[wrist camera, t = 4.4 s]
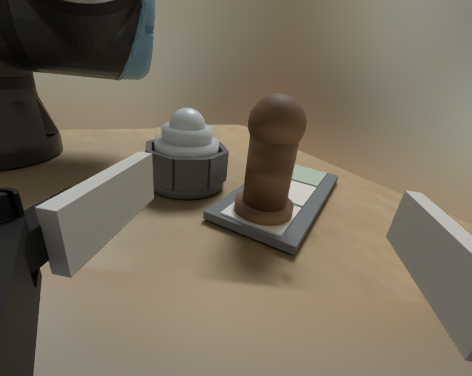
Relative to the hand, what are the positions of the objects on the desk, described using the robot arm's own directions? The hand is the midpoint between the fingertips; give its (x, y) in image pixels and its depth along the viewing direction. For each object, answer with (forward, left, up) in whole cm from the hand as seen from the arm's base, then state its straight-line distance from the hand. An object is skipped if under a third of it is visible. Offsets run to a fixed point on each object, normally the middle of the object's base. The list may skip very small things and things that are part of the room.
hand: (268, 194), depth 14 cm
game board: (-3, +16, -7) cm, 18 cm away
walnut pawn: (-3, +9, -6) cm, 12 cm away
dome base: (-14, +11, -7) cm, 20 cm away
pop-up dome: (-14, +11, -4) cm, 19 cm away
